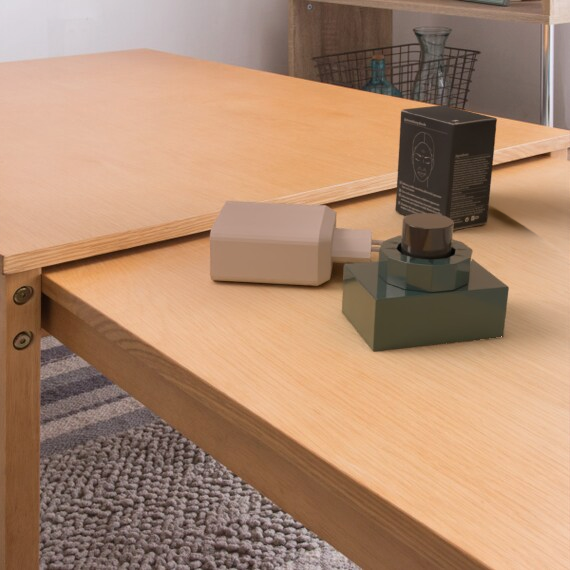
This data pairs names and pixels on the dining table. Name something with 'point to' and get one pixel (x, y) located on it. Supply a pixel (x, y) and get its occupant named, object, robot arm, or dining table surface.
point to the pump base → (422, 299)
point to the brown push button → (427, 236)
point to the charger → (283, 243)
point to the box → (445, 164)
